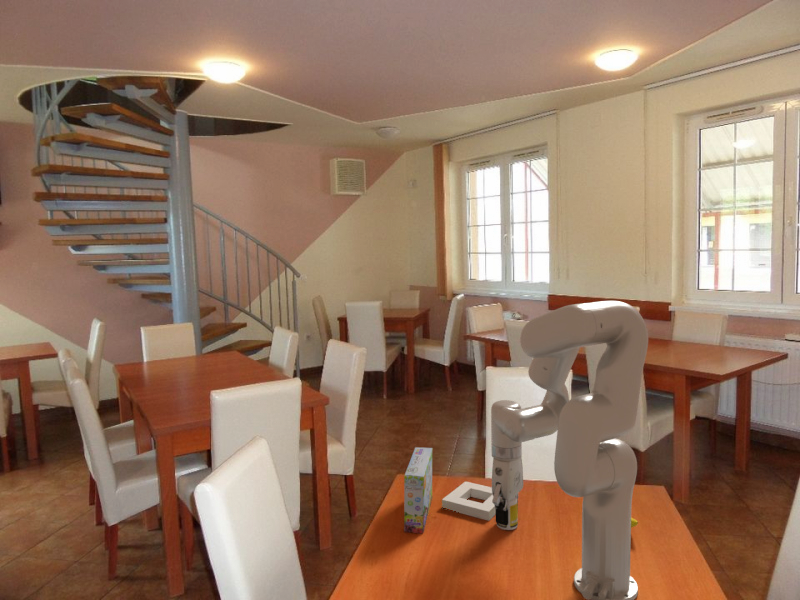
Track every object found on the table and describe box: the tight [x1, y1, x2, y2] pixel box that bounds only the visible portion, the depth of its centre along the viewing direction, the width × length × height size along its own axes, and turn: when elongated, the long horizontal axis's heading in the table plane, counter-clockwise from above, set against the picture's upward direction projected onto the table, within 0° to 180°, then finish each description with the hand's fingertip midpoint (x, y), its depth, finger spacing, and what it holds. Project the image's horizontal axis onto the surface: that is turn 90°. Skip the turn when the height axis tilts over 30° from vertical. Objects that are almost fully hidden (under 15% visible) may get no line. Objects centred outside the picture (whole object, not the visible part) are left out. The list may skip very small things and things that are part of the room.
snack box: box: [403, 447, 433, 534], centre depth 155 cm, size 21×6×15 cm, turn 171°
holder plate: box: [441, 481, 496, 521], centre depth 160 cm, size 14×14×2 cm
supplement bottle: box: [496, 494, 519, 531], centre depth 148 cm, size 5×5×10 cm
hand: (506, 518), depth 148 cm, fingers closed on supplement bottle, 5 cm apart
